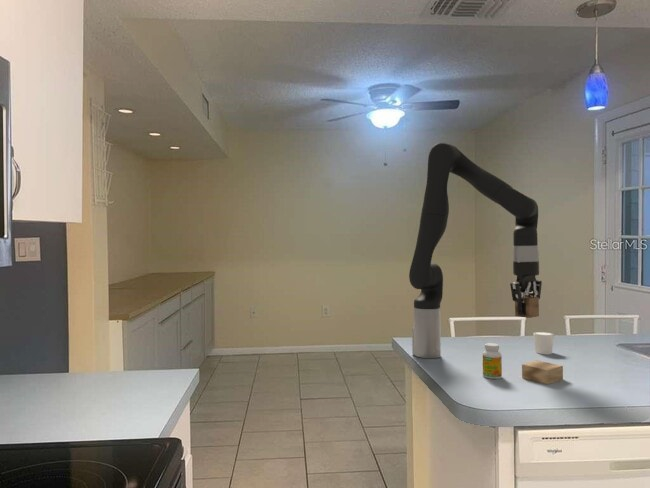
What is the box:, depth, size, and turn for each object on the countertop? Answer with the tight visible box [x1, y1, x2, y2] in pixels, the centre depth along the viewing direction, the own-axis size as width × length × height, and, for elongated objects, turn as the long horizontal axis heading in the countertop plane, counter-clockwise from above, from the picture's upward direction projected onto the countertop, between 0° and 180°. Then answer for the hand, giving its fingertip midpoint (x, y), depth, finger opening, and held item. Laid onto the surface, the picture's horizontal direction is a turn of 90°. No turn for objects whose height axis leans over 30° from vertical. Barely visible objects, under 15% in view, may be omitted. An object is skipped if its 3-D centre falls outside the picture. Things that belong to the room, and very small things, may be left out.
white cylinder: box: [532, 331, 555, 355], centre depth 171 cm, size 7×7×7 cm
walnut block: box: [514, 296, 540, 319], centre depth 148 cm, size 5×5×6 cm
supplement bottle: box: [482, 342, 503, 380], centre depth 142 cm, size 5×5×10 cm
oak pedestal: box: [521, 360, 564, 385], centre depth 139 cm, size 8×8×4 cm
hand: (527, 313), depth 148 cm, fingers closed on walnut block, 5 cm apart
